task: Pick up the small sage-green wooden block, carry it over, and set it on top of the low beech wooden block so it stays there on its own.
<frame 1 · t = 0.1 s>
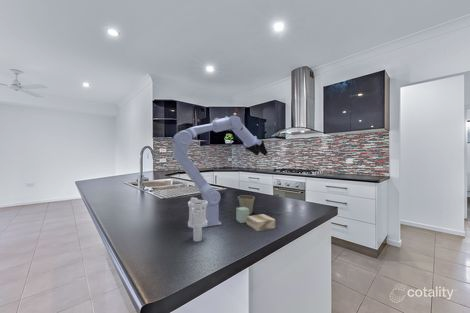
hand: (262, 154, 103), 32 cm above the counter, tool tilted 50°, fingers open, 7 cm apart
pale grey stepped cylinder: (197, 240, 73), on the counter
beech base: (260, 226, 88), on the counter
flower pot: (246, 213, 108), on the counter
sage block: (242, 221, 95), on the counter
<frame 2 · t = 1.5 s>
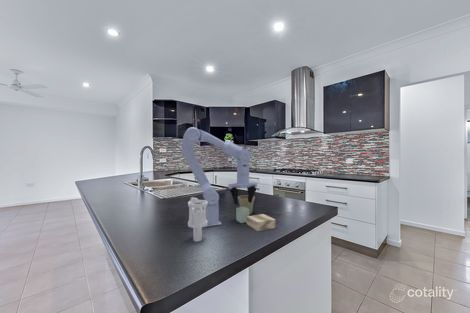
hand: (242, 203, 95), 8 cm above the counter, tool pointing down, fingers open, 7 cm apart
nothing on the counter moved.
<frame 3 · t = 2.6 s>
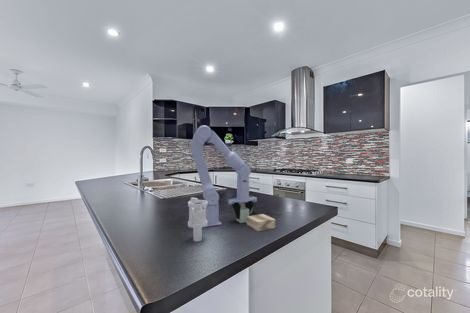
hand: (242, 217, 95), 1 cm above the counter, tool pointing down, fingers closed on sage block, 4 cm apart
sage block: (242, 220, 95), on the counter, touching gripper
everything else where it was.
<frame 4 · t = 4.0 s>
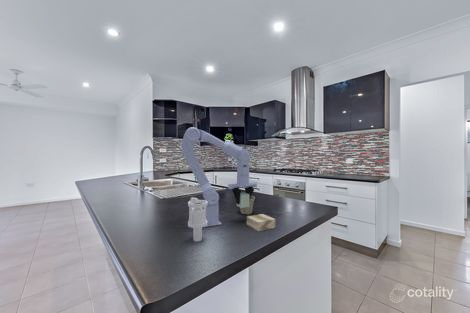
hand: (242, 203, 95), 8 cm above the counter, tool pointing down, fingers closed on sage block, 4 cm apart
sage block: (242, 206, 95), point 7 cm above the counter, touching gripper
everything else where it was.
when the fingers open (7 cm above the counter, at t = 5.5 s): sage block drops 2 cm, point 4 cm above the counter.
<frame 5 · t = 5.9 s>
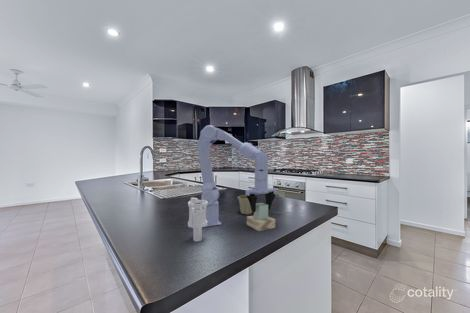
hand: (260, 210, 88), 7 cm above the counter, tool pointing down, fingers open, 7 cm apart
sage block: (260, 217, 88), point 4 cm above the counter
everything else where it was.
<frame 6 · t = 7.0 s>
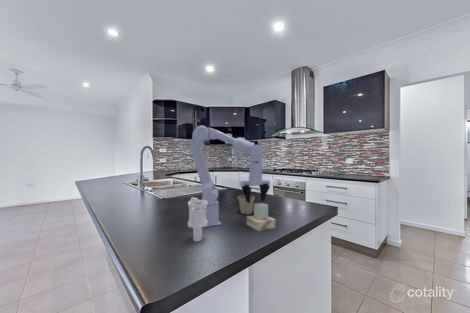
hand: (255, 201, 90), 10 cm above the counter, tool pointing down, fingers open, 7 cm apart
nothing on the counter moved.
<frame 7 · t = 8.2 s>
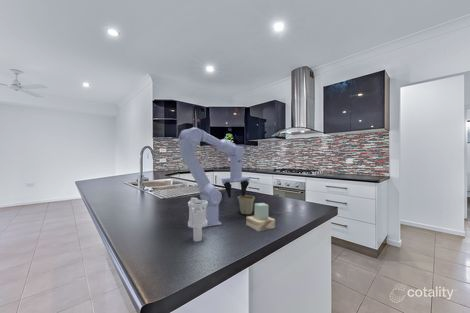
hand: (236, 196, 100), 10 cm above the counter, tool pointing down, fingers open, 7 cm apart
beech base: (260, 227, 88), on the counter, touching sage block
sage block: (261, 217, 88), point 4 cm above the counter, touching beech base
everything else where it was.
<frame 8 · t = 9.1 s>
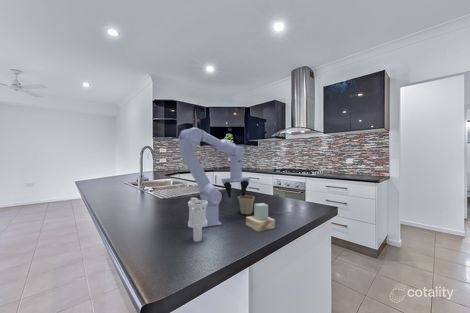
hand: (236, 196, 100), 10 cm above the counter, tool pointing down, fingers open, 7 cm apart
nothing on the counter moved.
at the end: sage block 0.5 cm off-centre on the beech base, point 4.0 cm above the beech base's base; sage block tilted 0°; the gripper is holding nothing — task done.
